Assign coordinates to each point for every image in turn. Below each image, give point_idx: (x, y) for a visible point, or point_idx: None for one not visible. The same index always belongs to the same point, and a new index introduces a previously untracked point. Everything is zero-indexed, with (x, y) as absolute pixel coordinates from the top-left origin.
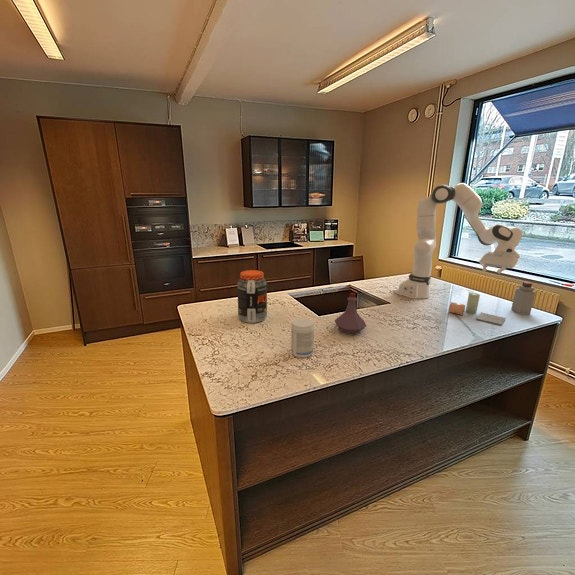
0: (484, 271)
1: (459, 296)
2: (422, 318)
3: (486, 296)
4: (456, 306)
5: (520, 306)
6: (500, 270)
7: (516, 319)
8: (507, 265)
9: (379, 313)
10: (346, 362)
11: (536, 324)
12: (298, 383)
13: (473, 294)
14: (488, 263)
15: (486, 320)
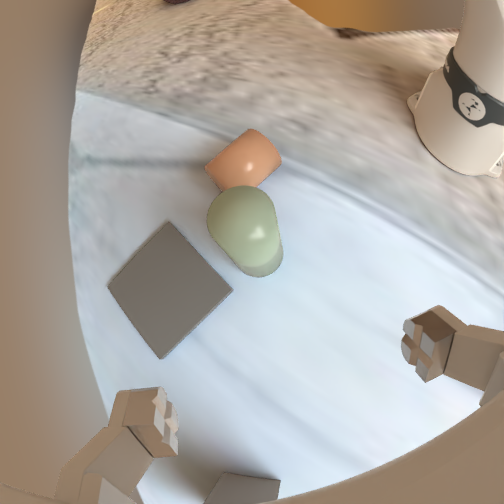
0: (406, 334)
1: (476, 321)
2: (213, 71)
3: None
4: (227, 147)
5: (213, 488)
6: (114, 425)
7: None
8: (3, 484)
9: (259, 14)
10: (110, 14)
11: None
12: (102, 4)
13: (237, 208)
14: (488, 404)
15: (144, 250)
